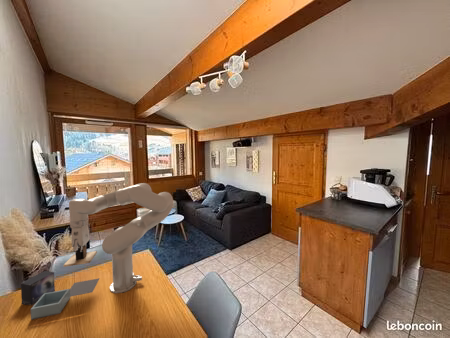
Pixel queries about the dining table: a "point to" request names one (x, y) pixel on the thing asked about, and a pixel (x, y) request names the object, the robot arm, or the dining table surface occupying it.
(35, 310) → the open box
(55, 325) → the dining table surface
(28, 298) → the small box
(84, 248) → the lid
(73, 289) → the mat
